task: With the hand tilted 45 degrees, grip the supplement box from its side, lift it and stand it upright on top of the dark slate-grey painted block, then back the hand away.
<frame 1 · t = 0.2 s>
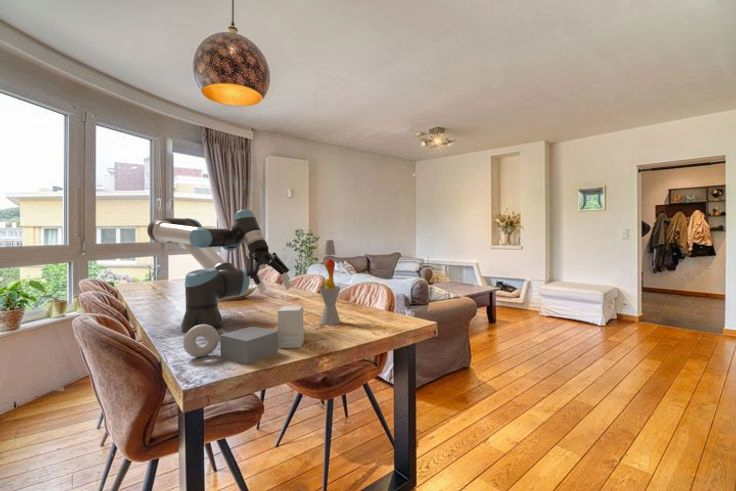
hand: (276, 289, 136), 16 cm above the table, tool tilted 35°, fingers open, 13 cm apart
donut: (201, 357, 108), on the table
supplement box: (291, 345, 119), on the table
slate block: (249, 355, 110), on the table
plant pot: (291, 334, 133), on the table
lava lamp: (330, 322, 150), on the table
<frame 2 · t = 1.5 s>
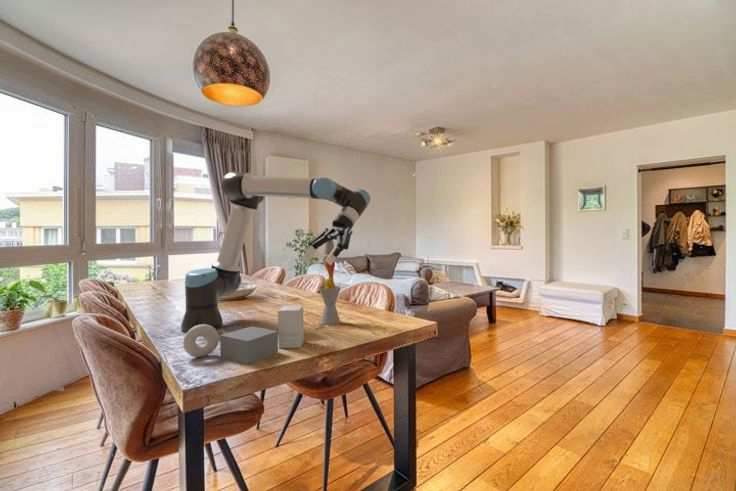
hand: (315, 261, 126), 27 cm above the table, tool tilted 45°, fingers open, 13 cm apart
nothing on the table moved.
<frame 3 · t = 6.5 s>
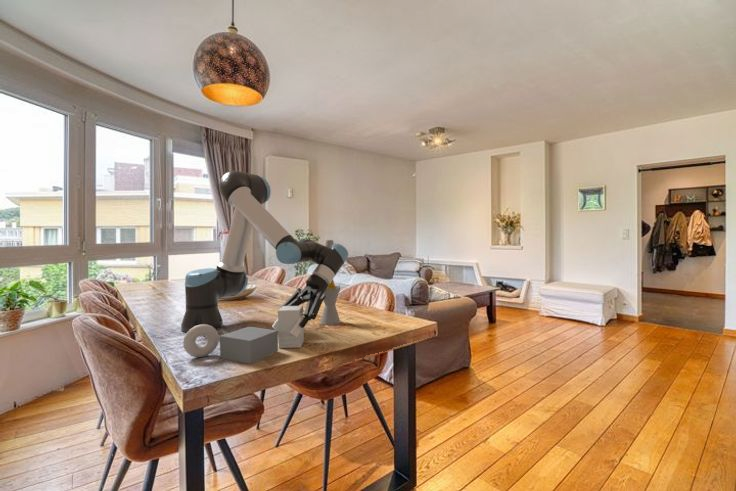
hand: (283, 331, 117), 5 cm above the table, tool tilted 45°, fingers closed on supplement box, 10 cm apart
supplement box: (291, 345, 119), on the table, touching gripper
everything else where it was.
when the fingers open (13 cm above the table, at t = 12.7 s): supplement box drops 2 cm, resting on slate block.
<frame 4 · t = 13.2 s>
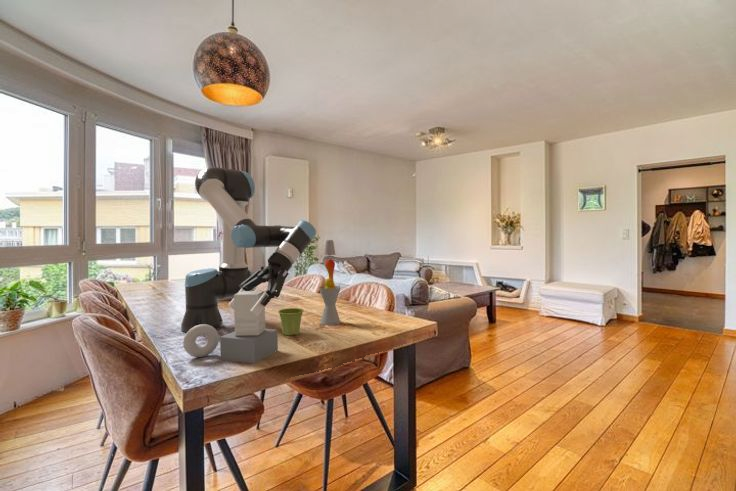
hand: (242, 310, 107), 14 cm above the table, tool tilted 45°, fingers open, 13 cm apart
supplement box: (250, 333, 110), point 7 cm above the table, touching slate block
slate block: (250, 355, 110), on the table, touching supplement box
everything else where it was.
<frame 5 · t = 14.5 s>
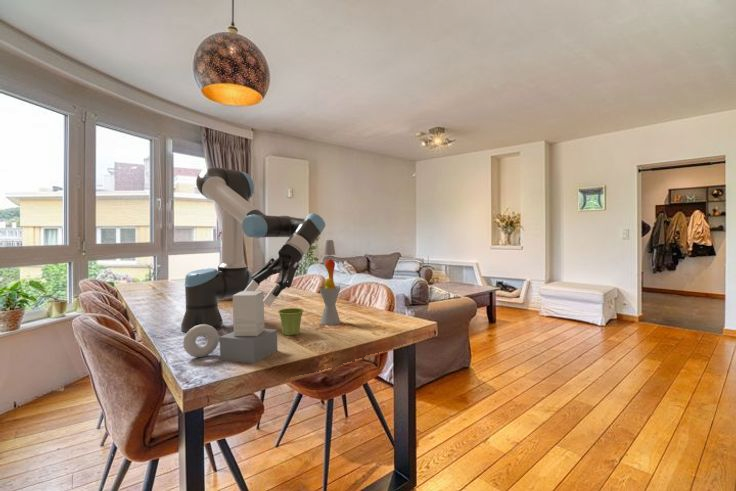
hand: (254, 301, 110), 17 cm above the table, tool tilted 45°, fingers open, 13 cm apart
nothing on the table moved.
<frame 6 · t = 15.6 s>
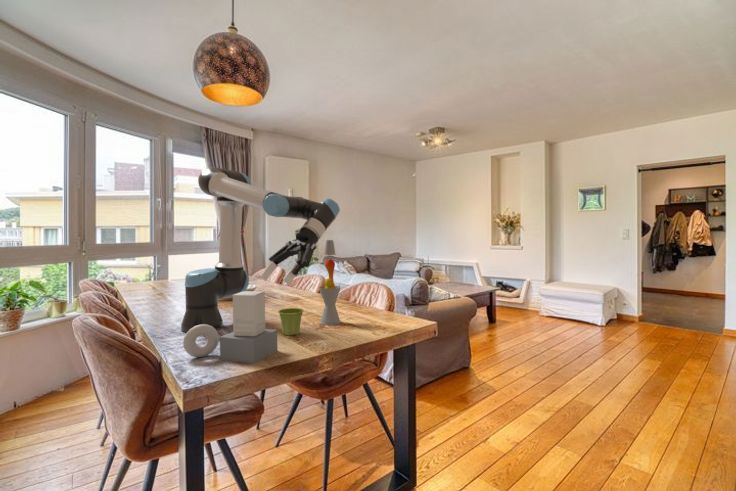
hand: (273, 280, 115), 22 cm above the table, tool tilted 45°, fingers open, 13 cm apart
nothing on the table moved.
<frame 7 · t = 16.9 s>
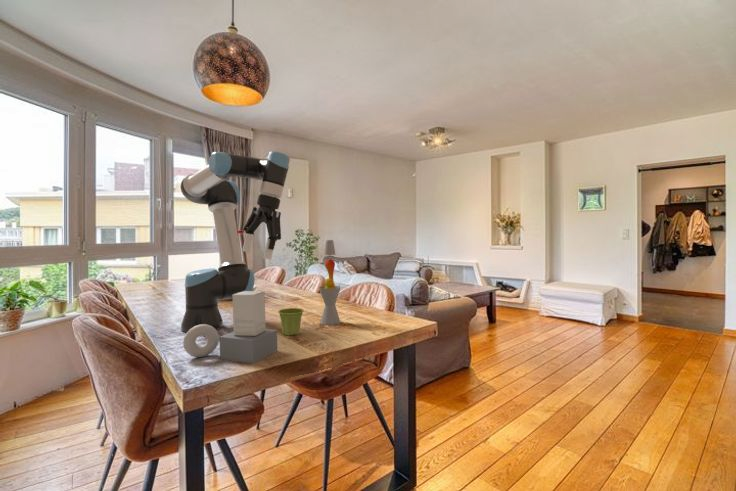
hand: (256, 255, 124), 30 cm above the table, tool pointing down, fingers open, 13 cm apart
supplement box: (249, 333, 110), point 7 cm above the table
slate block: (249, 355, 110), on the table
everything else where it was.
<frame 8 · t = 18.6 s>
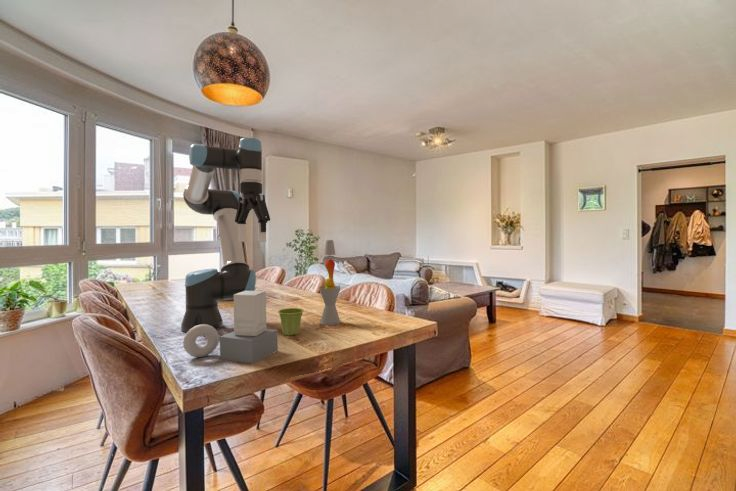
hand: (252, 241, 127), 35 cm above the table, tool pointing down, fingers open, 13 cm apart
supplement box: (250, 333, 110), point 7 cm above the table, touching slate block
slate block: (249, 355, 110), on the table, touching supplement box
everything else where it was.
at the end: supplement box inside the target area on the slate block (0.4 cm from its centre), point 6.8 cm above the slate block's base; supplement box tilted 0°; the gripper is holding nothing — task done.
